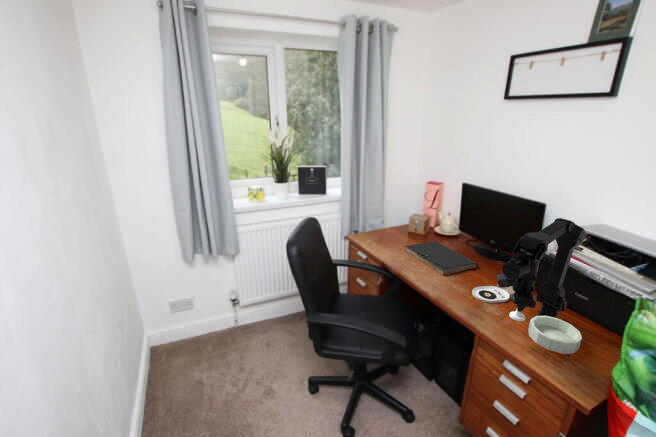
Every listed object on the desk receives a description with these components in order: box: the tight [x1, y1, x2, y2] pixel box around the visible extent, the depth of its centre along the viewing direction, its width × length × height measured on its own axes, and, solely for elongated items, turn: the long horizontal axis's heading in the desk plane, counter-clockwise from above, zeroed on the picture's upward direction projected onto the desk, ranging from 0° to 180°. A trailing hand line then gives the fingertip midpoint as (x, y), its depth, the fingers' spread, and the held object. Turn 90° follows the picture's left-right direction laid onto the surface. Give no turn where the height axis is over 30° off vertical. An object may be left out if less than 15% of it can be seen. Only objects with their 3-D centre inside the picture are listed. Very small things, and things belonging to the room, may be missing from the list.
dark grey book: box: [404, 240, 479, 276], centre depth 178 cm, size 33×4×24 cm
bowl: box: [528, 315, 583, 355], centre depth 113 cm, size 15×15×4 cm
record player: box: [471, 283, 515, 304], centre depth 142 cm, size 12×3×20 cm
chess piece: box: [509, 308, 526, 322], centre depth 110 cm, size 5×5×10 cm
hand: (518, 309), depth 111 cm, fingers closed on chess piece
